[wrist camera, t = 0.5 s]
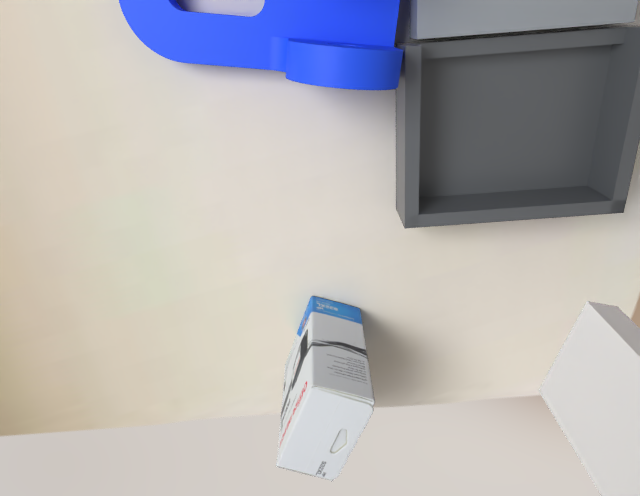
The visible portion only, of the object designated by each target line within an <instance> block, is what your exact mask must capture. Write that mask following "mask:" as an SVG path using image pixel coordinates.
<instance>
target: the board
mask: <svg viewBox="0 0 640 496" xmlns="http://www.w3.org/2000/svg"><path fill="white" fill-rule="evenodd" d="M637 5H638V0H410V38H412V39H428V38H441V37H453V36H466V35H478V34H491V33H503V32H516V31H528V30H541V29H553V28H566V27H579V26H591V25H604V24H616V23H629V22H634V20H635V15H636V10H637Z"/></svg>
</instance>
